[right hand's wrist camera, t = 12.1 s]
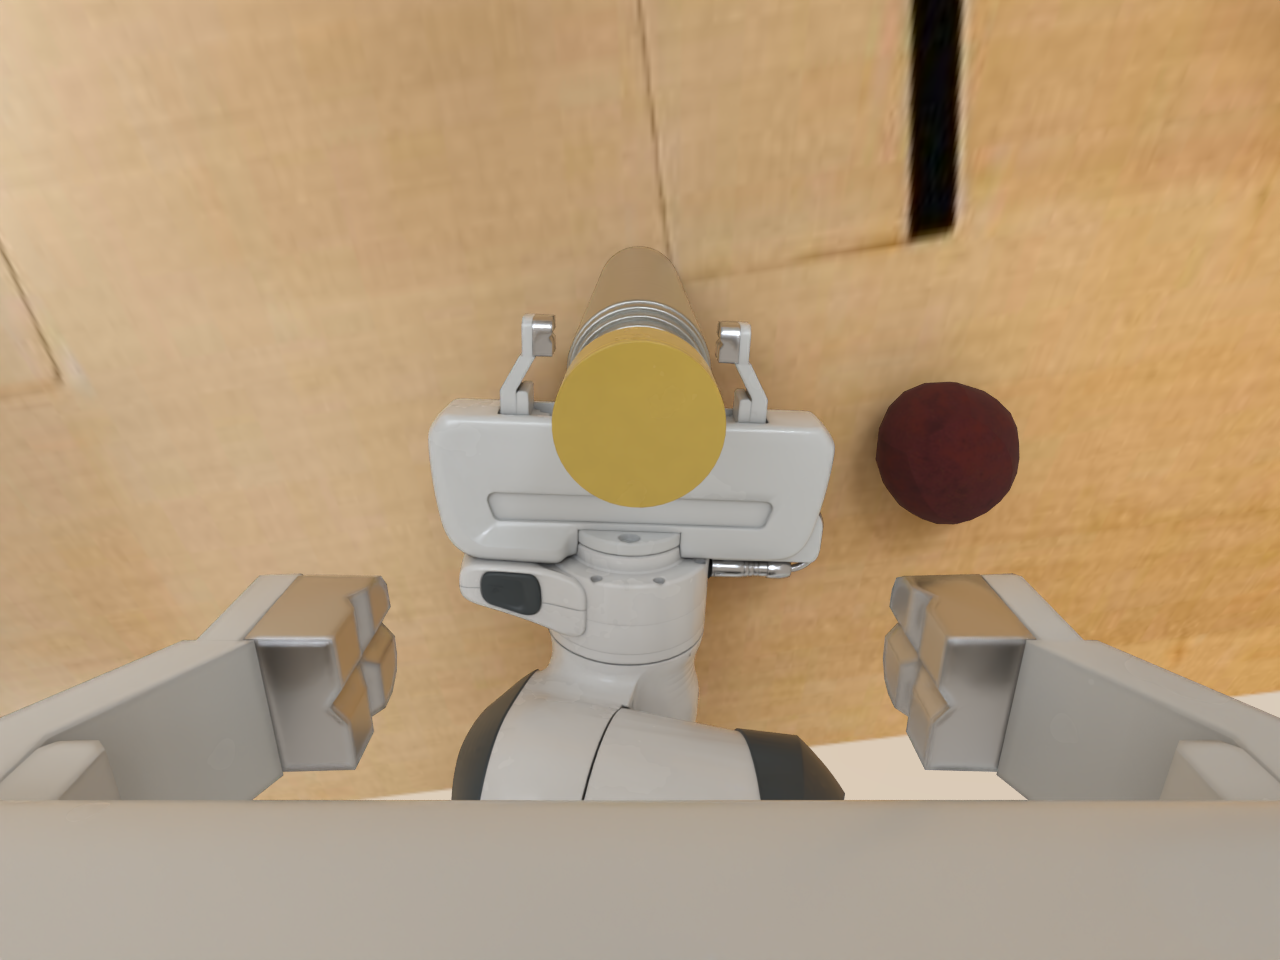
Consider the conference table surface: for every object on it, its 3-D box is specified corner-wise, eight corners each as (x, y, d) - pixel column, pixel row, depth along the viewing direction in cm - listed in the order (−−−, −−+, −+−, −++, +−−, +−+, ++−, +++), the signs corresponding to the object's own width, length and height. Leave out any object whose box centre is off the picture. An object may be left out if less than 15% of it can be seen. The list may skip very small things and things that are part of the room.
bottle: (692, 308, 42) (757, 465, 19) (619, 341, 42) (596, 532, 19) (659, 232, 40) (687, 299, 17) (584, 267, 41) (515, 379, 18)
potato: (900, 513, 46) (943, 569, 40) (834, 415, 44) (869, 456, 37) (1010, 446, 45) (1074, 491, 38) (948, 340, 42) (1005, 369, 36)
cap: (742, 443, 20) (752, 468, 18) (601, 503, 21) (598, 533, 19) (680, 298, 19) (684, 310, 17) (531, 367, 19) (520, 386, 18)
